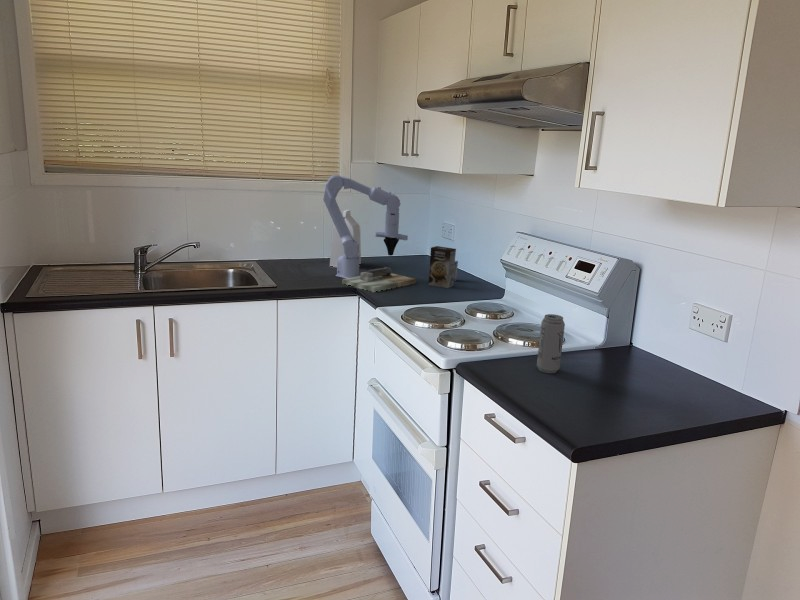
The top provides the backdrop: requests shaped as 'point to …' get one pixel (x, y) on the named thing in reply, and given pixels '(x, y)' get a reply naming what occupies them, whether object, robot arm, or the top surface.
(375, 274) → the lock bar
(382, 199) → the robot arm
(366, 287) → the door and jamb
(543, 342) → the energy drink can
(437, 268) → the coffee box
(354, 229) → the milk
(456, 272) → the medicine box
